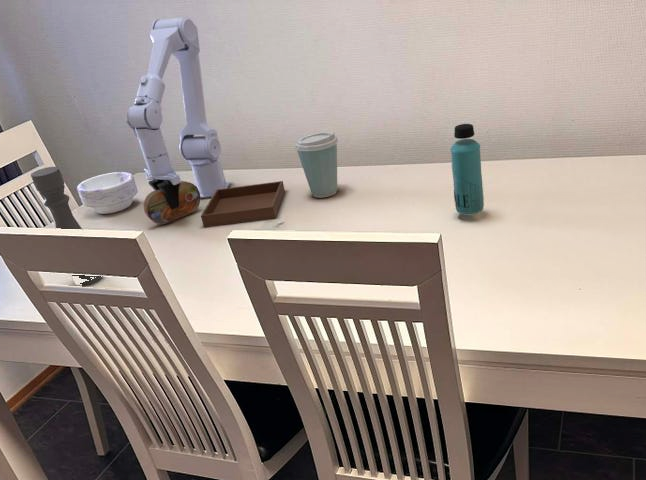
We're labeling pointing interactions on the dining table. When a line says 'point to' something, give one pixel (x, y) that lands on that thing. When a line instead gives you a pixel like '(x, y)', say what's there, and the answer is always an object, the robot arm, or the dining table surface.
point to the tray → (243, 204)
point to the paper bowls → (108, 192)
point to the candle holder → (58, 203)
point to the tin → (161, 210)
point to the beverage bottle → (467, 171)
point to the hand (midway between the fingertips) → (172, 206)
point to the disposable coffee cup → (319, 162)
